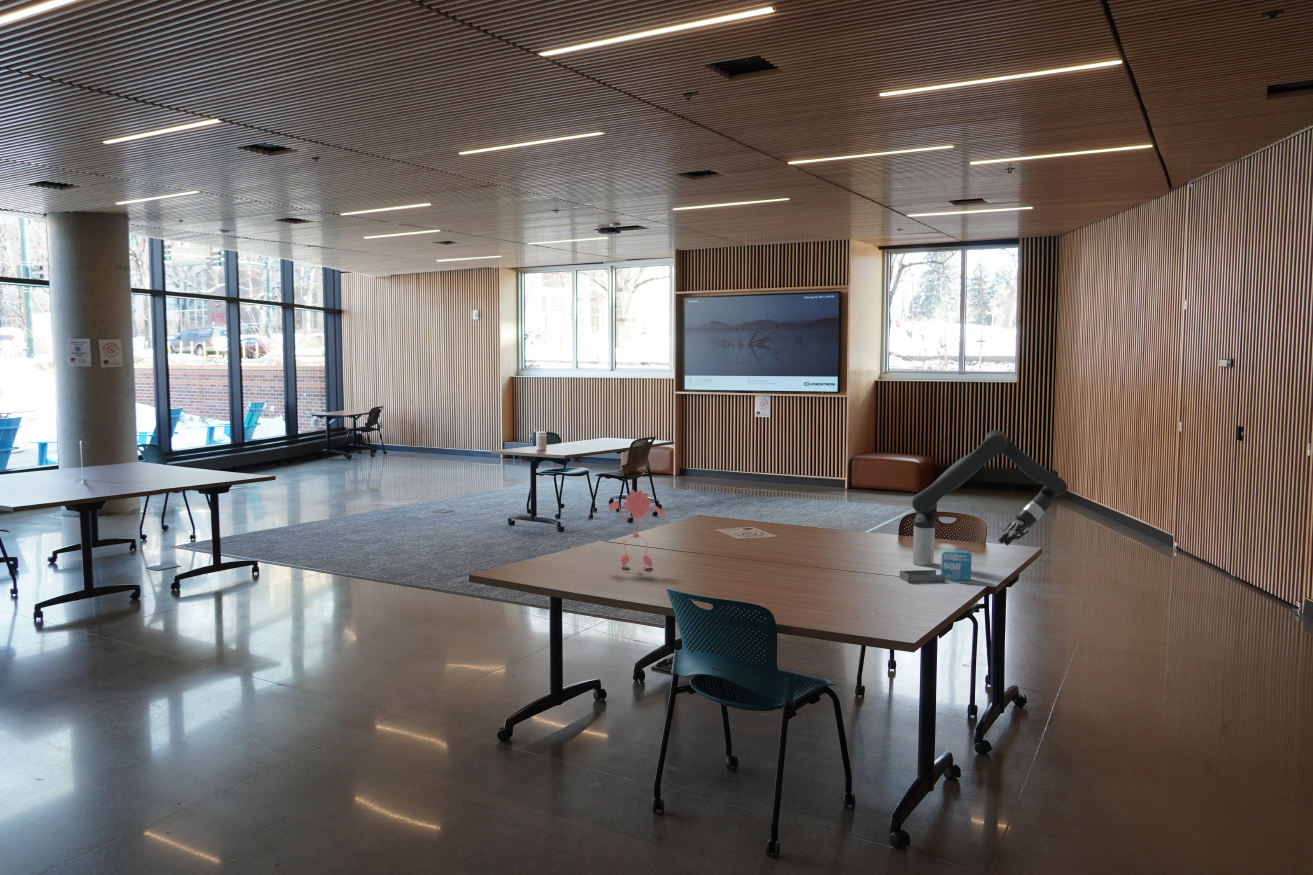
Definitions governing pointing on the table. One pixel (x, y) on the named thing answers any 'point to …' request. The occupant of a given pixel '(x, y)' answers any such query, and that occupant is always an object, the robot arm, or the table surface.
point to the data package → (956, 564)
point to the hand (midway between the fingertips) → (1002, 542)
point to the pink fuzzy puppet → (636, 506)
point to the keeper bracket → (921, 576)
